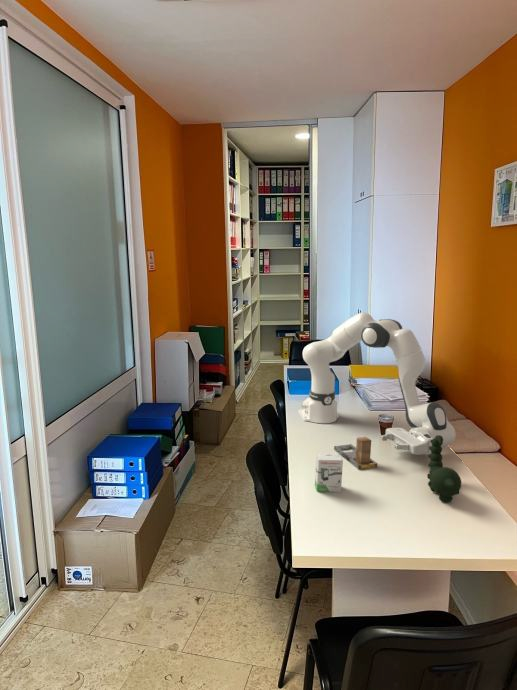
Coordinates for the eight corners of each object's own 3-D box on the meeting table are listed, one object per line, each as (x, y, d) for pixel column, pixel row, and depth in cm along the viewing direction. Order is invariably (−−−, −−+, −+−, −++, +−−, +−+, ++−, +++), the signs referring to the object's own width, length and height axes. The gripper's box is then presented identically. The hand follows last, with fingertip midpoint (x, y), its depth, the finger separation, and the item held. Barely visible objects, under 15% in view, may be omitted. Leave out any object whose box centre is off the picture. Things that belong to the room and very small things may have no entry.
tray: (334, 449, 207) (334, 446, 207) (351, 447, 210) (351, 444, 209) (358, 469, 188) (359, 466, 188) (377, 467, 191) (377, 463, 191)
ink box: (316, 492, 171) (317, 459, 169) (314, 485, 176) (315, 453, 173) (341, 492, 171) (343, 459, 169) (339, 485, 176) (340, 453, 174)
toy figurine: (419, 480, 184) (435, 509, 159) (422, 430, 182) (439, 451, 157) (446, 482, 183) (466, 511, 158) (449, 432, 181) (470, 453, 156)
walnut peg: (355, 461, 195) (356, 437, 193) (364, 460, 196) (365, 436, 194) (360, 466, 191) (362, 441, 189) (369, 464, 192) (371, 440, 190)
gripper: (403, 422, 209) (374, 426, 205) (435, 440, 190) (404, 444, 186) (402, 436, 210) (373, 440, 206) (434, 455, 191) (403, 460, 187)
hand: (388, 442), depth 196 cm, fingers open, 8 cm apart
